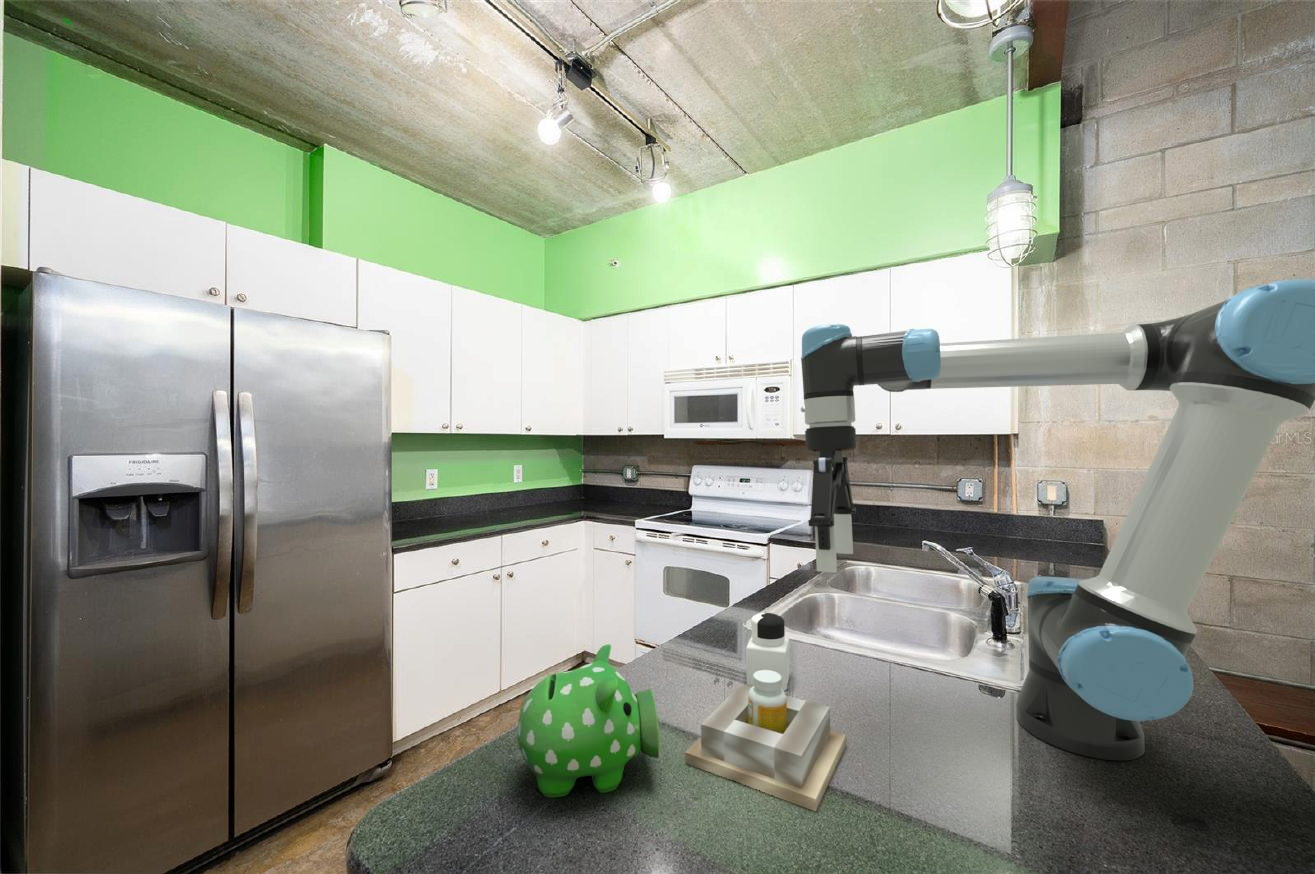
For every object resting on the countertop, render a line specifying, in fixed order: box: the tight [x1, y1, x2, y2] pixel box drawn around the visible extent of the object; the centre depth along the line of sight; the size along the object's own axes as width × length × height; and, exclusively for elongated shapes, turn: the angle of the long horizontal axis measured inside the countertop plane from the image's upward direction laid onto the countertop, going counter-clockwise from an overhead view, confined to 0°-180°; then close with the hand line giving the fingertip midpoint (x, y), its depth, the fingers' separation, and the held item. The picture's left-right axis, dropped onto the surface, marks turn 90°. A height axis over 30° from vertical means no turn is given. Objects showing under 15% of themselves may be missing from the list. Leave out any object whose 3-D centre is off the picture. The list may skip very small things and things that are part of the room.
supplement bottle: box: [748, 670, 787, 734], centre depth 74 cm, size 5×5×10 cm
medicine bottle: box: [745, 612, 791, 692], centre depth 97 cm, size 7×7×12 cm
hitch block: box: [684, 683, 847, 812], centre depth 74 cm, size 18×16×6 cm
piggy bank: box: [517, 643, 660, 798], centre depth 70 cm, size 14×18×15 cm
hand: (836, 561), depth 81 cm, fingers open, 13 cm apart
